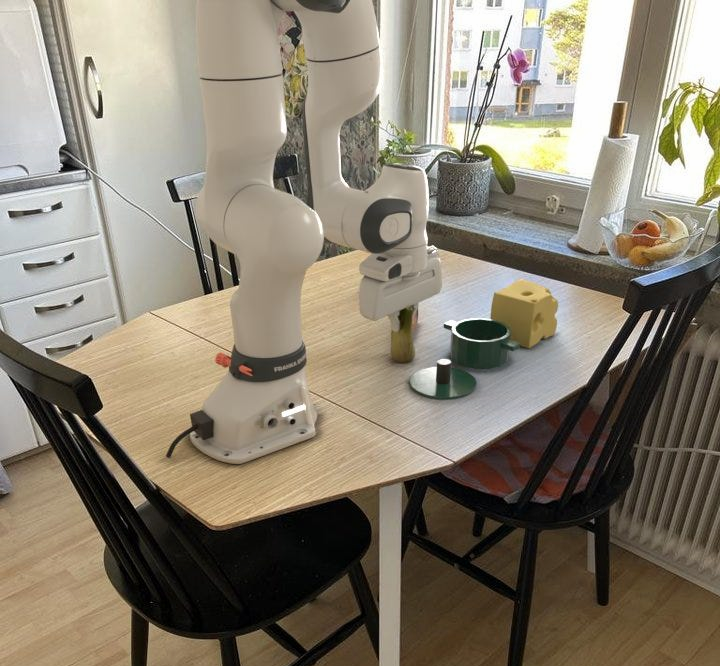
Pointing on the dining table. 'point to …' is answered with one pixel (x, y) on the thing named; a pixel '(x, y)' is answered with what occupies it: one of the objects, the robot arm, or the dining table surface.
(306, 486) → the dining table surface
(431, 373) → the lid
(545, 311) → the cheese
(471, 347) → the pot
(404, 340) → the fennel bulb
